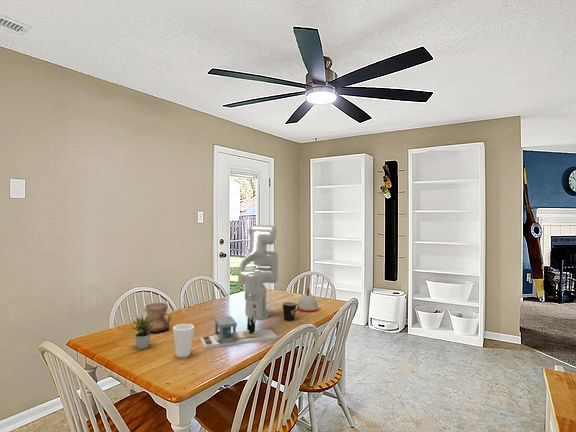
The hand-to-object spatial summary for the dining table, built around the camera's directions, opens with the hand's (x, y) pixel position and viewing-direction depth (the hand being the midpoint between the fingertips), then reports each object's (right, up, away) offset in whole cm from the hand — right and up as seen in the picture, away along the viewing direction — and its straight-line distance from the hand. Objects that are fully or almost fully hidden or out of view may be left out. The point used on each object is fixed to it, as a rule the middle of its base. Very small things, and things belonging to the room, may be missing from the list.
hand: (251, 330), depth 187 cm
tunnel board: (-6, -4, -2) cm, 8 cm away
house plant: (-51, -3, -16) cm, 53 cm away
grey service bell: (+34, -5, +59) cm, 68 cm away
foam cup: (-29, -4, -23) cm, 38 cm away
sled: (-8, -2, -3) cm, 9 cm away
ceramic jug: (-54, -3, +10) cm, 55 cm away
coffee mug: (+22, -5, +35) cm, 42 cm away
